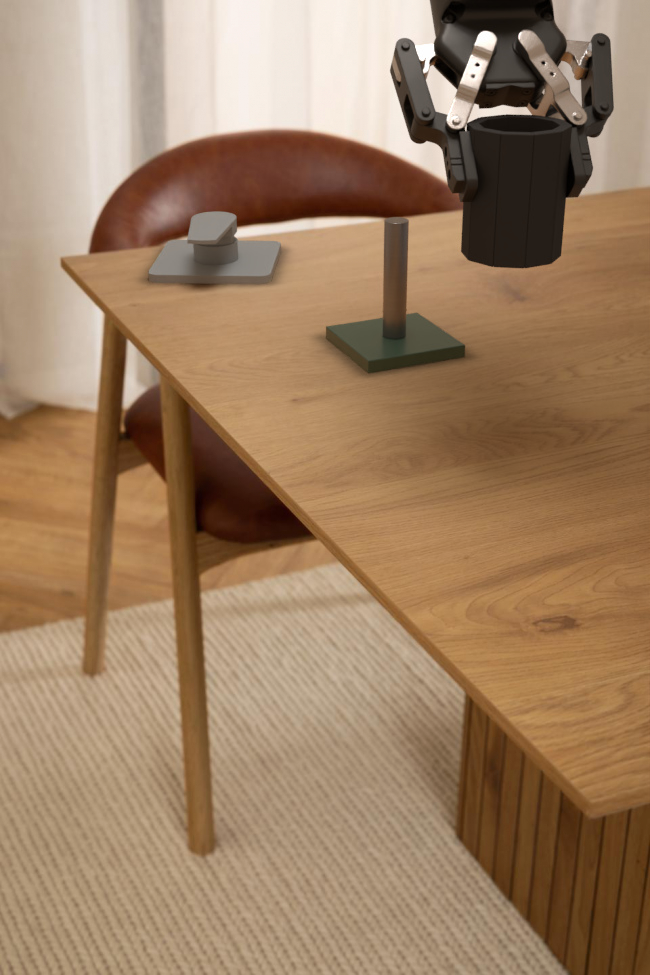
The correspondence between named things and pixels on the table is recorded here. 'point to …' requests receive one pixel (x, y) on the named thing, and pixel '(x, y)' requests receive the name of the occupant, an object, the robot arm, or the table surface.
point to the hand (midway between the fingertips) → (523, 192)
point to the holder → (394, 319)
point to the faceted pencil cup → (517, 191)
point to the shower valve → (215, 255)
